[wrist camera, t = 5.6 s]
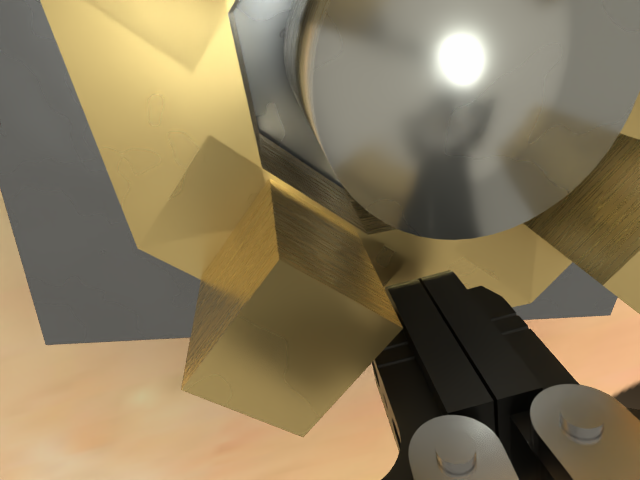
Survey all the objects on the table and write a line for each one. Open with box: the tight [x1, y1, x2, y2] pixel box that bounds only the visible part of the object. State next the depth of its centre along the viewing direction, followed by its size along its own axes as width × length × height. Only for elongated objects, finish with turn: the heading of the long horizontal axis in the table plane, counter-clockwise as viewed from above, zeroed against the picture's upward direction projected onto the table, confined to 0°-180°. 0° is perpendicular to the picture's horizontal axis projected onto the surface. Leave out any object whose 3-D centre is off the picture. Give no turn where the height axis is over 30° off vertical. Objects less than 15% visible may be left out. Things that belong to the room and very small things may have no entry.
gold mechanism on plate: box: [0, 0, 640, 345], centre depth 10 cm, size 20×18×8 cm
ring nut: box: [40, 0, 640, 437], centre depth 9 cm, size 13×13×7 cm
